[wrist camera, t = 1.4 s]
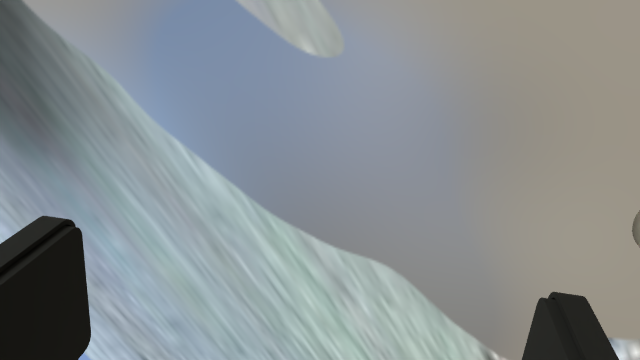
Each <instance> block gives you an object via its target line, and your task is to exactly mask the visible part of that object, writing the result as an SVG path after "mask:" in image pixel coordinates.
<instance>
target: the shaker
mask: <svg viewBox="0 0 640 360" xmlns="http://www.w3.org/2000/svg"><path fill="white" fill-rule="evenodd" d="M632 232H633V237H634V240H635V242H636V243H637V245H638V246H639V247H640V211H639V212H638V214H637V215H636V217H635V219H634V222H633V227H632Z"/></svg>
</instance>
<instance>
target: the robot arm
mask: <svg viewBox="0 0 640 360" xmlns="http://www.w3.org/2000/svg"><path fill="white" fill-rule="evenodd" d="M90 337H91V327H90V316H89V305H88V294H87V283H86V272H85V261H84V250H83V239H82V232H81V230H80V229H79V228H77V227H75V224H74V222H73V221H71V220H69V219H63V218H56V217H49V216H42V217H39V218H38V219H36V220H35V221H33V222H32V223H31V224H29V225H28V226H26V227H25V228H23V229H22V230H20V231H19V232H17V233H16V234H14V235H13V236H11V237H10V238H8V239H7V240H6V241H4V242H3V243H1V244H0V360H78V359H79V357H80V356H81V355H82V354H83V353H84V352H85V350H86V349H87V347H88V345H89V342H90ZM522 360H619V359H618V357H617V355H616V353H615V351H614V350H613V348H612V346H611V344H610V342H609V340H608V338H607V336H606V335H605V333H604V331H603V329H602V327H601V325H600V323H599V322H598V319H597V318H596V316H595V314H594V312H593V310H592V308H591V306H590V304H589V303H588V301H587V299H586V298H585V297H583V296H578V295H572V294H565V293H558V292H552V293H551V294H550V295H549V297H548V299H546V298H540V299H539V301H538V303H537V306H536V310H535V313H534V317H533V321H532V325H531V328H530V332H529V335H528V339H527V343H526V346H525V350H524V354H523V357H522Z"/></svg>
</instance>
